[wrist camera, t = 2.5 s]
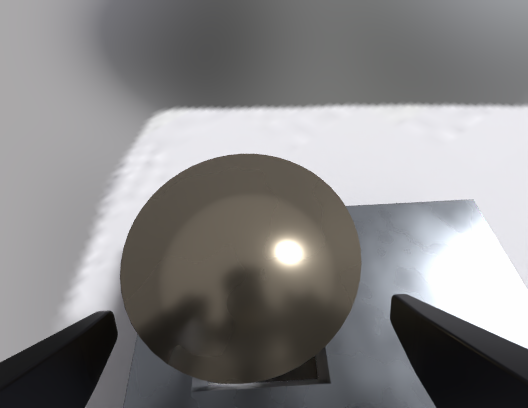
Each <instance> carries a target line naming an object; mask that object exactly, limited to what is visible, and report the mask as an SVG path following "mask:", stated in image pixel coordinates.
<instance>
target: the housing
mask: <svg viewBox="0 0 528 408" xmlns="http://www.w3.org/2000/svg"><path fill="white" fill-rule="evenodd" d="M346 208H347V210H348V212H349V213H350V215H351V217H352V219H353V222H354V225H355V228H356V230H357V233H358V238H359V243H360V248H361V263H362V264H361V276H360V283H359V287H358V291H357V296H356V298H355V301H354V303H353V306H352V308H351V311H350V313H349V315H348V316H347V318H346V320H345V322H344V324H343V325H342V327H341V328H340V330H339V331H338V332H337V333H336V335H335V336H334V337H333V339H332V340H331V341H330V342H329V343H328V344H327V345H326V346H325V347H324V348H323V349H322V350H321V351H320V352H319V353H318V354H316V355H315V359H316V366H317V373H318V379H307V380H290V381H273V382H256V383H245V384H223V385H208V381H204V380H200V379H198V378H195V377H192V376H189V375H187V374H184V373H182V372H180V371H178V370H177V369H175V368H173V367H171V366H170V365H168V364H166V363H165V362H164V361H163V360H161V359H160V358H159V357H158V356H156V355H155V354H154V353H153V352H152V351H151V350H150V349H149V348H148V346H147V345H146V344H145V343H144V342H143V341H142V340H141V338H140V337H139V335H138V334H137V339H136V344H135V349H134V354H133V360H132V365H131V370H130V375H129V380H128V385H127V390H126V396H125V401H124V406H123V408H436V407H435V405H434V403H433V402H432V400H431V398H430V397H429V395H428V393H427V392H426V390H425V388H424V387H423V385H422V383H421V382H420V380H419V378H418V377H417V375H416V373H415V371H414V369H413V367H412V366H411V364H410V361H409V359H408V357H407V355H406V353H405V351H404V349H403V347H402V345H401V343H400V341H399V339H398V337H397V335H396V333H395V331H394V329H393V327H392V324H391V321H390V308H391V298H392V296H393V295H394V294H408V295H410V296H412V297H414V298H416V299H419V300H421V301H423V302H425V303H428V304H430V305H432V306H434V307H436V308H439V309H441V310H443V311H445V312H447V313H450V314H452V315H454V316H456V317H459V318H461V319H463V320H465V321H467V322H470V323H472V324H474V325H476V326H479V327H481V328H483V329H485V330H487V331H490V332H492V333H494V334H496V335H498V336H501V337H503V338H505V339H507V340H510V341H512V342H514V343H516V344H518V345H521V346H523V347H525V348H527V349H528V291H527V290H526V288H525V286H524V285H523V283H522V281H521V279H520V278H519V276H518V274H517V273H516V271H515V269H514V268H513V266H512V264H511V262H510V261H509V259H508V257H507V256H506V254H505V252H504V251H503V249H502V247H501V246H500V244H499V242H498V240H497V239H496V237H495V235H494V234H493V232H492V230H491V229H490V227H489V225H488V223H487V222H486V220H485V218H484V217H483V215H482V213H481V212H480V210H479V208H478V206H477V205H476V203H475V201H474V200H473V199H471V200H452V201H433V202H414V203H396V204H377V205H358V206H346Z"/></svg>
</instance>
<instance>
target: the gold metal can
mask: <svg viewBox="0 0 528 408" xmlns="http://www.w3.org/2000/svg"><path fill="white" fill-rule="evenodd" d="M361 264H362V263H361V248H360V243H359V238H358V233H357V230H356V228H355V225H354V222H353V219H352V217H351V215H350V213H349V212H348V210H347V208H346V206H345V205H344V203H343V202H342V200H341V199H340V197H339V196H338V195H337V194H336V193H335V192H334V190H333V189H332V188H331V187H330V186H329V185H328V184H326V183H325V182H324V181H323V180H322V179H321V178H319V177H318V176H317V175H315V174H314V173H312V172H311V171H309V170H307V169H305V168H304V167H302V166H300V165H298V164H295V163H293V162H291V161H288V160H284V159H281V158H278V157H273V156H268V155H260V154H235V155H227V156H222V157H217V158H214V159H210V160H207V161H204V162H201V163H199V164H197V165H194V166H192V167H190V168H188V169H186V170H184V171H182V172H181V173H179V174H178V175H176V176H175V177H173V178H172V179H170V180H169V181H168V182H167V183H165V184H164V185H163V186H162V187H160V188H159V189H158V190H157V191H156V192H155V193H154V195H153V196H152V197H151V198H150V199H149V200H148V201H147V203H146V204H145V205H144V206H143V208H142V209H141V211H140V212H139V214H138V215H137V217H136V219H135V220H134V222H133V225H132V227H131V229H130V231H129V233H128V236H127V239H126V242H125V245H124V249H123V254H122V259H121V271H120V281H121V293H122V297H123V301H124V305H125V309H126V312H127V314H128V316H129V319H130V321H131V324H132V325H133V327H134V329H135V330H136V332H137V333H138V335H139V337H140V338H141V340H142V341H143V342H144V343H145V344H146V345H147V346H148V348H149V349H150V350H151V351H152V352H153V353H154V354H155V355H156V356H158V357H159V358H160V359H161V360H163V361H164V362H165V363H166V364H168V365H170V366H171V367H173V368H175V369H177V370H178V371H180V372H182V373H184V374H187V375H189V376H192V377H195V378H198V379H200V380H204V381H210V382H215V383H221V384H245V383H253V382H260V381H264V380H267V379H271V378H274V377H277V376H280V375H283V374H285V373H287V372H289V371H291V370H293V369H295V368H297V367H299V366H301V365H302V364H304V363H305V362H307V361H308V360H309V359H311V358H312V357H314V356H315V355H316V354H318V353H319V352H320V351H321V350H322V349H323V348H324V347H325V346H326V345H327V344H328V343H329V342H330V341H331V340H332V339H333V337H334V336H335V335H336V333H337V332H338V331H339V330H340V328H341V327H342V325H343V324H344V322H345V320H346V318H347V316H348V315H349V313H350V311H351V308H352V306H353V303H354V301H355V298H356V296H357V291H358V287H359V283H360V276H361Z"/></svg>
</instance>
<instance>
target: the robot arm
mask: <svg viewBox="0 0 528 408" xmlns="http://www.w3.org/2000/svg"><path fill="white" fill-rule="evenodd" d="M390 321H391V324H392V327H393V329H394V331H395V333H396V335H397V337H398V339H399V341H400V343H401V345H402V347H403V349H404V351H405V353H406V355H407V357H408V359H409V361H410V364H411V366H412V367H413V369H414V371H415V373H416V375H417V377H418V378H419V380H420V382H421V383H422V385H423V387H424V388H425V390H426V392H427V393H428V395H429V397H430V398H431V400H432V402H433V403H434V405H435V407H436V408H528V349H527V348H525V347H523V346H521V345H518V344H516V343H514V342H512V341H510V340H507V339H505V338H503V337H501V336H498V335H496V334H494V333H492V332H490V331H487V330H485V329H483V328H481V327H479V326H476V325H474V324H472V323H470V322H467V321H465V320H463V319H461V318H459V317H456V316H454V315H452V314H450V313H447V312H445V311H443V310H441V309H439V308H436V307H434V306H432V305H430V304H428V303H425V302H423V301H421V300H419V299H416V298H414V297H412V296H410V295H408V294H394V295H393V296H392V298H391V308H390ZM117 336H118V332H117V327H116V323H115V318H114V314H113V312H111V311H98V312H96V313H94V314H92V315H90V316H88V317H86V318H84V319H82V320H80V321H78V322H76V323H75V324H73V325H71V326H69V327H67V328H65V329H63V330H61V331H59V332H57V333H56V334H54V335H52V336H50V337H48V338H46V339H44V340H42V341H40V342H38V343H37V344H35V345H33V346H31V347H29V348H27V349H25V350H23V351H21V352H19V353H17V354H16V355H14V356H12V357H10V358H8V359H6V360H4V361H2V362H0V408H85V406H86V404H87V402H88V400H89V399H90V397H91V395H92V393H93V391H94V389H95V387H96V385H97V383H98V380H99V378H100V376H101V374H102V372H103V369H104V367H105V365H106V363H107V361H108V358H109V356H110V354H111V352H112V349H113V347H114V345H115V343H116V340H117Z"/></svg>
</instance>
